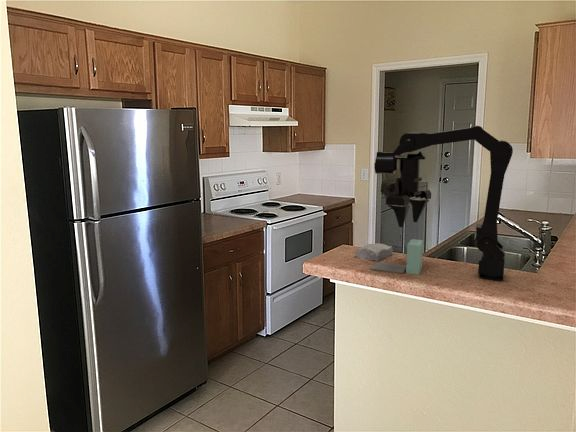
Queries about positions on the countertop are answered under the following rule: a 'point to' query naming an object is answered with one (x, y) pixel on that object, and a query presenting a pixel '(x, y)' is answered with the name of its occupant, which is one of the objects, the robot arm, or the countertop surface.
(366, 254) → the stone block
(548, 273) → the countertop surface
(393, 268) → the mat
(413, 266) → the slab
